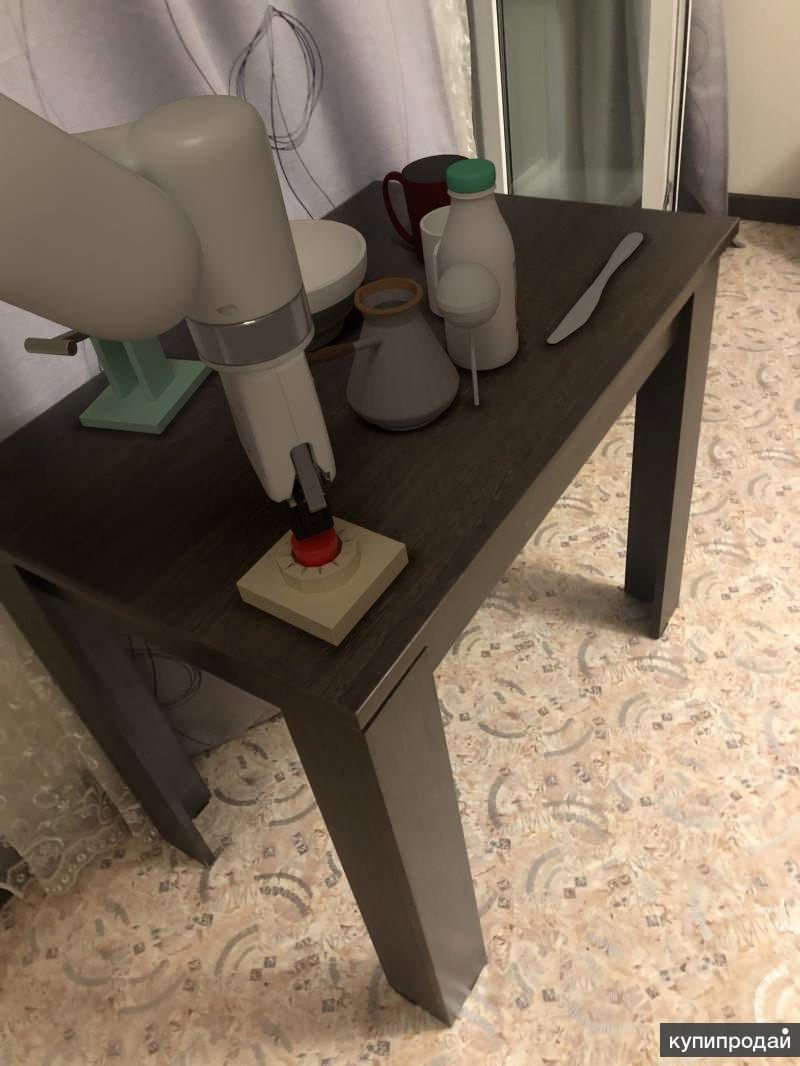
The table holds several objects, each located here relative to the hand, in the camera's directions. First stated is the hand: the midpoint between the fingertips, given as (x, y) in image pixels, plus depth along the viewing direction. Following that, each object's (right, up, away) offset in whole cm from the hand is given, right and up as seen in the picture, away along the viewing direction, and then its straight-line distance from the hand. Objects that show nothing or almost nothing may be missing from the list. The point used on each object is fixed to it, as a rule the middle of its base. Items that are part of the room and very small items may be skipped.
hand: (312, 528), depth 64 cm
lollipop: (+15, +13, +19) cm, 27 cm away
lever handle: (-24, +19, +18) cm, 36 cm away
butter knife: (+30, +28, +32) cm, 53 cm away
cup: (+14, +26, +33) cm, 44 cm away
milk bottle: (+16, +19, +26) cm, 36 cm away
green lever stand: (-21, +15, +28) cm, 38 cm away
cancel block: (+1, -4, +4) cm, 6 cm away
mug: (+11, +36, +44) cm, 58 cm away
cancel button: (0, -2, +2) cm, 3 cm away
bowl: (-5, +24, +34) cm, 42 cm away
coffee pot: (+5, +9, +17) cm, 20 cm away
